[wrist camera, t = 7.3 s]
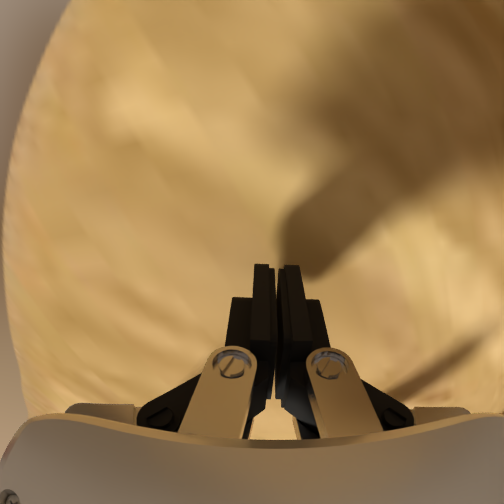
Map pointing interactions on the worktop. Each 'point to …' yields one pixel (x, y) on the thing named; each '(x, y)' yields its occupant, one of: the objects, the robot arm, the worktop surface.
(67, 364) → the worktop surface
